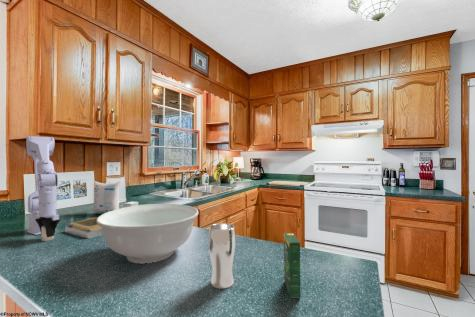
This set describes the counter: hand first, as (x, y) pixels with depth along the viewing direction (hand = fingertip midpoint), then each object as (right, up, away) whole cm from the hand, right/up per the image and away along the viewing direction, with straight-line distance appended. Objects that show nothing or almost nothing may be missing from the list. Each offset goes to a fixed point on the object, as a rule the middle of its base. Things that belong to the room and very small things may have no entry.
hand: (47, 235), depth 99 cm
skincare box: (+27, -2, +17) cm, 32 cm away
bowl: (+48, -2, -16) cm, 51 cm away
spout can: (0, -2, 0) cm, 2 cm away
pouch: (0, -2, +43) cm, 43 cm away
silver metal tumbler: (+74, -1, -35) cm, 82 cm away
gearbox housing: (+11, -2, +12) cm, 17 cm away
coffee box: (+92, -1, -38) cm, 100 cm away
